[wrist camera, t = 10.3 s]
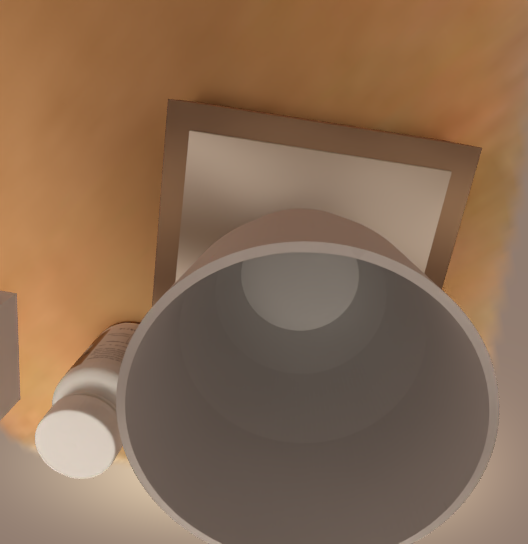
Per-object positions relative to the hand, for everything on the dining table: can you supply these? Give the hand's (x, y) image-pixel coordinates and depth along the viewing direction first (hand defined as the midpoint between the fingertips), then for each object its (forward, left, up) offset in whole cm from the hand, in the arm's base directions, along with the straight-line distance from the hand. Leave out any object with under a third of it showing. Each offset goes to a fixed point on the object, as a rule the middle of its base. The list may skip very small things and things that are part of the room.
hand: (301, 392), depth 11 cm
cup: (0, 0, -9) cm, 10 cm away
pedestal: (0, 0, -14) cm, 14 cm away
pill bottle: (+8, -8, -15) cm, 19 cm away
